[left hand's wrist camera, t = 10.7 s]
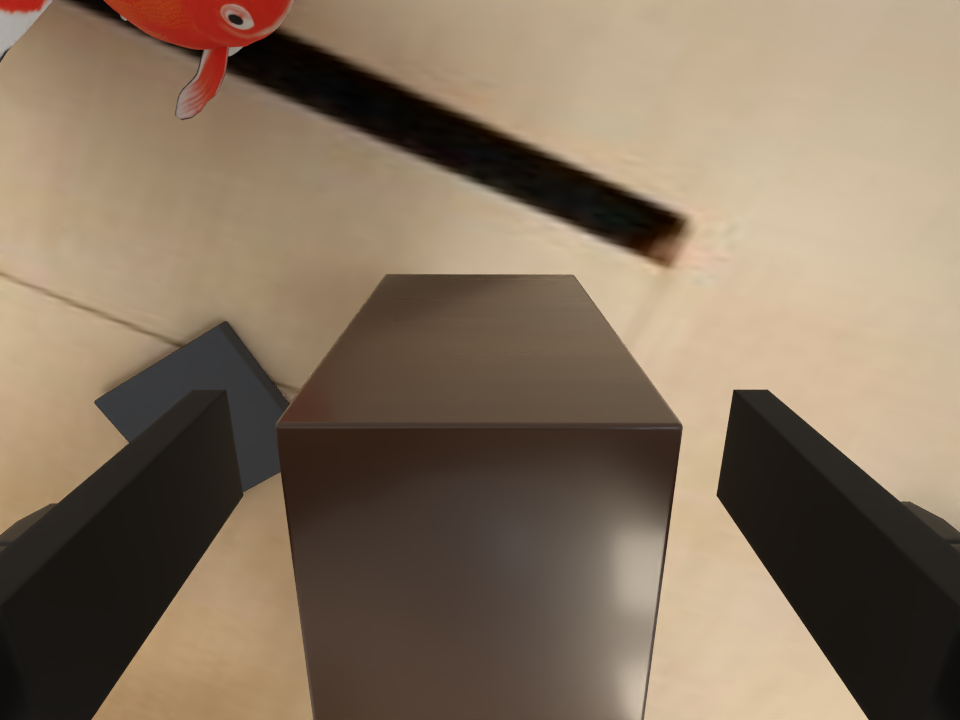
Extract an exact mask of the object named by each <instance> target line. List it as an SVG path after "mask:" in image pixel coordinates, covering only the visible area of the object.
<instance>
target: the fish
mask: <svg viewBox="0 0 960 720" xmlns="http://www.w3.org/2000/svg"><path fill="white" fill-rule="evenodd" d="M52 1H53V0H0V62H1V60H2V59H3V57H4V56H5V54H6V53H7V51H8V50H9V49H10V48H11V47H12V46H13V45H14V44H15V43H16V42H17V41H18V40H19V39H20V38H21V36H22V35H23V34H24V33H25V32H26V31H27V30H28V29H29V28H30V27H31V25H32V24H33V23H34V22H35V21H36V20H37V19H38V17H39V16H40V15H41V14H42V13H43V12H44V11H45V9H46V8H47V7H48V6H49V5H50V4H51V2H52ZM104 1H105V2H106V3H107V4H108V5H109V6H110V7H111V8H112V9H114V10H115V11H116V12H118V13H119V14H120V16H121V18H122V19H123V20H125V21H126V20H128V21H130V22H131V23H132V24H134V25H135V26H136V27H138V28H139V29H141V30H142V31H143V32H145V33H147V34H149V35H150V36H152V37H155V38H157V39H160V40H163V41H166V42H169V43H172V44H175V45H179V46H182V47H186V48H190V49H197V50H203V53H202V56H201V60H200V64H199V68H198V71H197V74H196V75H195V77H194V78H193V79H192V80H191V81H190V82H189V83H188V84H187V85H186V86H185V87H184V88H183V89H182V91H181V92H180V94H179V96H178V101H177V106H176V112H175V116H177V117H178V118H180V119H181V120H184V119H189V118H192V117H193V116H195V115H196V114H198V113H199V112H200V111H201V110H202V109H203V107H204V106H205V104H206V103H207V102H208V101H209V100H210V99H212V98H213V97H214V96H215V95H216V94H217V91H218V89H219V87H220V85H221V83H222V80H223V78H224V76H225V72H226V66H227V60H228V56H231V55H233V54H235V53H236V52H238V51H239V50H240V49H241V48H242V47H244V46H248V45H249V44H251V43H253V42H255V41H258V40H260V39H263V38H265V37H267V36H268V35H270V34H271V33H272V32H273V31H275V30H276V29H277V28H278V27H279V26H280V25H281V23H282V22H283V21H284V19H285V18H286V16H287V15H288V13H289V12H290V10H291V8H292V5H293V2H294V0H104Z"/></svg>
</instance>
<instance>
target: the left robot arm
mask: <svg viewBox="0 0 960 720" xmlns="http://www.w3.org/2000/svg"><path fill="white" fill-rule="evenodd" d="M242 497H243V490H242V484H241V477H240V471H239V465H238V459H237V453H236V446H235V440H234V434H233V428H232V421H231V415H230V409H229V403H228V397H227V390H191V391H190V392H189V393H188V394H187V395H186V396H184V397H183V398H182V399H181V400H180V401H178V402H177V403H176V404H175V405H174V406H173V407H171V408H170V409H169V410H168V411H167V412H165V413H164V414H163V415H162V416H161V417H160V418H158V419H157V420H156V421H155V422H154V423H152V424H151V425H150V426H149V427H148V428H147V429H145V430H144V431H143V432H142V433H141V434H139V435H138V436H137V437H136V438H135V439H134V440H132V441H131V442H130V443H129V444H128V445H126V446H125V447H124V448H123V449H122V450H121V451H119V452H118V453H117V454H116V455H115V456H113V457H112V458H111V459H110V460H109V461H108V462H106V463H105V464H104V465H103V466H102V467H100V468H99V469H98V470H97V471H96V472H95V473H93V474H92V475H91V476H90V477H89V478H87V479H86V480H85V481H84V482H83V483H82V484H80V485H79V486H78V487H77V488H76V489H74V490H73V491H72V492H71V493H70V494H69V495H67V496H66V497H65V498H64V499H63V500H61V501H60V502H59V503H58V504H49V505H48V506H46V507H44V508H42V509H40V510H38V511H36V512H34V513H32V514H30V515H29V516H27V517H25V518H23V519H21V520H19V521H17V522H16V523H15V524H14V525H12V526H11V527H10V528H9V529H7V530H6V531H5V532H4V533H2V534H1V535H0V720H91V719H92V718H93V716H94V715H95V714H96V712H97V711H98V709H99V708H100V706H101V705H102V703H103V702H104V700H105V699H106V697H107V696H108V694H109V693H110V691H111V690H112V688H113V687H114V685H115V684H116V683H117V681H118V680H119V678H120V677H121V675H122V674H123V672H124V671H125V669H126V668H127V666H128V665H129V663H130V662H131V660H132V659H133V657H134V656H135V655H136V653H137V652H138V650H139V649H140V647H141V646H142V644H143V643H144V641H145V640H146V638H147V637H148V635H149V634H150V632H151V631H152V629H153V628H154V626H155V625H156V624H157V622H158V621H159V619H160V618H161V616H162V615H163V613H164V612H165V610H166V609H167V607H168V606H169V604H170V603H171V601H172V600H173V598H174V597H175V596H176V594H177V593H178V591H179V590H180V588H181V587H182V585H183V584H184V582H185V581H186V579H187V578H188V576H189V575H190V573H191V572H192V570H193V569H194V567H195V566H196V565H197V563H198V562H199V560H200V559H201V557H202V556H203V554H204V553H205V551H206V550H207V548H208V547H209V545H210V544H211V542H212V541H213V539H214V538H215V537H216V535H217V534H218V532H219V531H220V529H221V528H222V526H223V525H224V523H225V522H226V520H227V519H228V517H229V516H230V514H231V513H232V511H233V510H234V508H235V507H236V506H237V504H238V503H239V501H240V500H241V498H242ZM717 497H718V498H719V500H720V501H721V503H722V504H723V506H724V507H725V509H726V510H727V511H728V513H729V514H730V516H731V517H732V519H733V520H734V522H735V523H736V525H737V526H738V528H739V529H740V531H741V532H742V534H743V535H744V537H745V538H746V539H747V541H748V542H749V544H750V545H751V547H752V548H753V550H754V551H755V553H756V554H757V556H758V557H759V559H760V560H761V562H762V563H763V565H764V566H765V568H766V569H767V570H768V572H769V573H770V575H771V576H772V578H773V579H774V581H775V582H776V584H777V585H778V587H779V588H780V590H781V591H782V593H783V594H784V596H785V597H786V598H787V600H788V601H789V603H790V604H791V606H792V607H793V609H794V610H795V612H796V613H797V615H798V616H799V618H800V619H801V621H802V622H803V624H804V625H805V627H806V628H807V629H808V631H809V632H810V634H811V635H812V637H813V638H814V640H815V641H816V643H817V644H818V646H819V647H820V649H821V650H822V652H823V653H824V655H825V656H826V657H827V659H828V660H829V662H830V663H831V665H832V666H833V668H834V669H835V671H836V672H837V674H838V675H839V677H840V678H841V680H842V681H843V683H844V684H845V685H846V687H847V688H848V690H849V691H850V693H851V694H852V696H853V697H854V699H855V700H856V702H857V703H858V705H859V706H860V708H861V709H862V711H863V712H864V714H865V715H866V716H867V718H868V719H869V720H960V532H958V531H957V530H956V529H955V528H953V527H952V526H951V525H950V524H949V523H947V522H946V521H945V520H944V519H942V518H940V517H938V516H936V515H934V514H932V513H930V512H928V511H926V510H925V509H923V508H921V507H919V506H917V505H915V504H913V503H911V502H900V501H899V500H897V499H896V498H895V497H894V496H893V495H891V494H890V493H889V492H888V491H887V490H886V489H884V488H883V487H882V486H881V485H880V484H878V483H877V482H876V481H875V480H874V479H873V478H871V477H870V476H869V475H868V474H867V473H865V472H864V471H863V470H862V469H861V468H860V467H858V466H857V465H856V464H855V463H854V462H852V461H851V460H850V459H849V458H848V457H847V456H845V455H844V454H843V453H842V452H841V451H839V450H838V449H837V448H836V447H835V446H834V445H832V444H831V443H830V442H829V441H828V440H826V439H825V438H824V437H823V436H822V435H821V434H819V433H818V432H817V431H816V430H815V429H813V428H812V427H811V426H810V425H809V424H808V423H806V422H805V421H804V420H803V419H802V418H800V417H799V416H798V415H797V414H796V413H795V412H793V411H792V410H791V409H790V408H789V407H787V406H786V405H785V404H784V403H783V402H782V401H780V400H779V399H778V398H777V397H776V396H774V395H773V394H772V393H771V392H770V391H769V390H733V396H732V403H731V409H730V415H729V421H728V428H727V434H726V440H725V446H724V452H723V459H722V465H721V471H720V477H719V484H718V490H717Z"/></svg>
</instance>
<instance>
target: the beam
mask: <svg viewBox="0 0 960 720" xmlns="http://www.w3.org/2000/svg"><path fill="white" fill-rule="evenodd" d="M682 429H683V427H682V424H681V422H680V421H679V420H678V418H677V417H676V415H675V414H674V413H673V411H672V410H671V409H670V407H669V406H668V404H667V403H666V402H665V400H664V399H663V397H662V396H661V395H660V393H659V392H658V391H657V389H656V388H655V386H654V385H653V384H652V382H651V381H650V380H649V378H648V377H647V375H646V374H645V373H644V371H643V370H642V368H641V367H640V366H639V364H638V363H637V362H636V360H635V359H634V357H633V356H632V355H631V353H630V352H629V351H628V349H627V348H626V346H625V345H624V344H623V342H622V341H621V339H620V338H619V337H618V335H617V334H616V333H615V331H614V330H613V328H612V327H611V326H610V324H609V323H608V322H607V320H606V319H605V317H604V316H603V315H602V313H601V312H600V311H599V309H598V308H597V306H596V305H595V304H594V302H593V301H592V299H591V298H590V297H589V295H588V294H587V293H586V291H585V290H584V288H583V287H582V286H581V284H580V283H579V282H578V280H577V279H576V277H575V276H574V275H449V274H387V275H385V276H384V278H383V279H382V280H381V282H380V283H379V284H378V286H377V287H376V288H375V290H374V291H373V292H372V294H371V295H370V296H369V298H368V299H367V301H366V302H365V303H364V305H363V306H362V307H361V309H360V310H359V311H358V313H357V314H356V315H355V317H354V318H353V319H352V321H351V322H350V324H349V325H348V326H347V328H346V329H345V330H344V332H343V333H342V334H341V336H340V337H339V338H338V340H337V341H336V343H335V344H334V345H333V347H332V348H331V349H330V351H329V352H328V353H327V355H326V356H325V357H324V359H323V360H322V361H321V363H320V364H319V366H318V367H317V368H316V370H315V371H314V372H313V374H312V375H311V376H310V378H309V379H308V380H307V382H306V383H305V385H304V386H303V387H302V389H301V390H300V391H299V393H298V394H297V395H296V397H295V398H294V399H293V401H292V402H291V403H290V405H289V406H288V408H287V409H286V410H285V412H284V413H283V414H282V416H281V417H280V418H279V420H278V421H277V422H276V425H275V431H276V438H277V446H278V454H279V461H280V469H281V477H282V484H283V492H284V499H285V507H286V515H287V522H288V530H289V537H290V545H291V553H292V560H293V568H294V576H295V583H296V591H297V598H298V606H299V614H300V621H301V629H302V637H303V644H304V652H305V659H306V667H307V675H308V682H309V690H310V698H311V705H312V713H313V720H644V713H645V706H646V698H647V691H648V683H649V676H650V668H651V661H652V653H653V646H654V638H655V631H656V623H657V616H658V608H659V601H660V593H661V586H662V578H663V571H664V563H665V556H666V548H667V541H668V533H669V526H670V519H671V511H672V504H673V496H674V489H675V481H676V474H677V466H678V459H679V451H680V444H681V436H682Z"/></svg>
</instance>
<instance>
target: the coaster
mask: <svg viewBox="0 0 960 720" xmlns="http://www.w3.org/2000/svg"><path fill="white" fill-rule="evenodd" d="M191 390H227V397H228V403H229V409H230V415H231V421H232V428H233V434H234V440H235V446H236V453H237V459H238V465H239V471H240V477H241V484H242V490H243V492H244V491H246V490H248V489H250V488H252V487H254V486H255V485H257V484H259V483H261V482H263V481H265V480H266V479H268V478H270V477H272V476H274V475H276V474H278V473H279V472H281V469H280V461H279V454H278V446H277V438H276V431H275V425H276V422H277V421H278V420H279V418H280V417H281V416H282V414H283V413H284V412H285V410H286V409H287V408H288V406H289V404H288V402H287V401H286V400H285V398H284V397H283V396H282V395H281V393H280V392H279V391H278V389H277V388H276V387H275V385H274V384H273V383H272V381H271V380H270V379H269V377H268V376H267V375H266V373H265V372H264V371H263V369H262V368H261V367H260V365H259V364H258V363H257V361H256V360H255V359H254V357H253V356H252V355H251V353H250V352H249V351H248V349H247V348H246V347H245V345H244V344H243V343H242V341H241V340H240V339H239V337H238V336H237V335H236V334H235V332H234V331H233V330H232V328H231V327H230V326H229V324H228V323H227V322H226V321H225V322H223V323H221V324H219V325H218V326H216V327H215V328H213V329H211V330H210V331H208V332H206V333H205V334H203V335H201V336H200V337H198V338H196V339H195V340H193V341H192V342H190V343H188V344H187V345H185V346H183V347H182V348H180V349H178V350H177V351H175V352H173V353H172V354H170V355H168V356H167V357H165V358H164V359H162V360H160V361H159V362H157V363H155V364H154V365H152V366H150V367H149V368H147V369H145V370H144V371H142V372H141V373H139V374H137V375H136V376H134V377H132V378H131V379H129V380H127V381H126V382H124V383H122V384H121V385H119V386H117V387H116V388H114V389H113V390H111V391H109V392H108V393H106V394H104V395H103V396H101V397H100V398H98V399H97V400H95V402H94V403H95V404H96V406H97V407H98V408H99V409H100V410H101V411H102V412H103V413H104V415H105V416H106V417H107V418H108V419H109V420H110V421H111V423H112V424H113V425H114V426H115V427H116V428H117V429H118V431H119V432H120V433H121V434H122V435H123V436H124V437H125V439H126V440H127V441H128V442H129V443H130V442H131V441H132V440H134V439H135V438H136V437H137V436H138V435H139V434H141V433H142V432H143V431H144V430H145V429H147V428H148V427H149V426H150V425H151V424H152V423H154V422H155V421H156V420H157V419H158V418H160V417H161V416H162V415H163V414H164V413H165V412H167V411H168V410H169V409H170V408H171V407H173V406H174V405H175V404H176V403H177V402H178V401H180V400H181V399H182V398H183V397H184V396H186V395H187V394H188V393H189V392H190V391H191Z"/></svg>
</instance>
